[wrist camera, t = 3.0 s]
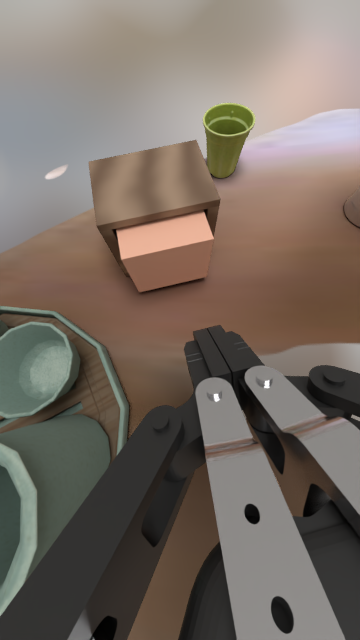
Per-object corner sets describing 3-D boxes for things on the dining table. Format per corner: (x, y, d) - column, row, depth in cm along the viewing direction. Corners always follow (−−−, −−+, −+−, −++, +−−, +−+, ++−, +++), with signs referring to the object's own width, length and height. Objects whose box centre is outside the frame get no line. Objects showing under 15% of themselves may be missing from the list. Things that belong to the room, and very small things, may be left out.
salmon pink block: (192, 234, 36) (194, 186, 27) (206, 276, 33) (213, 238, 24) (130, 247, 35) (112, 203, 26) (139, 292, 32) (121, 259, 23)
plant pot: (244, 183, 41) (258, 133, 33) (200, 185, 41) (204, 136, 33) (239, 154, 44) (252, 101, 35) (199, 155, 44) (202, 104, 36)
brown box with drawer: (193, 210, 39) (196, 139, 28) (209, 257, 35) (220, 199, 24) (117, 226, 38) (88, 161, 27) (126, 276, 35) (96, 225, 23)
